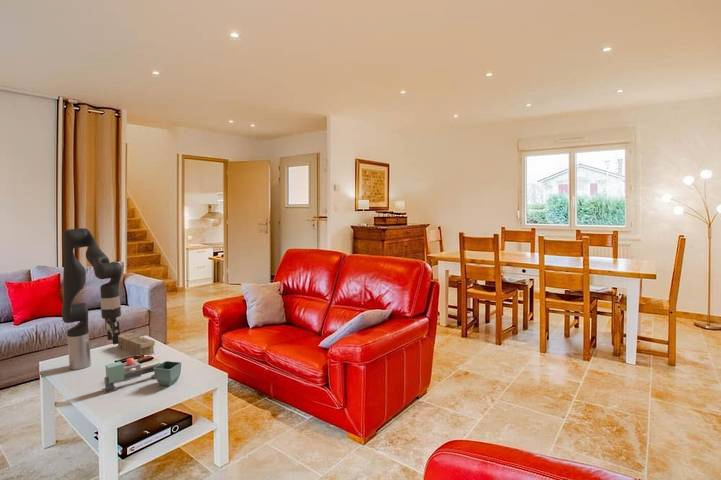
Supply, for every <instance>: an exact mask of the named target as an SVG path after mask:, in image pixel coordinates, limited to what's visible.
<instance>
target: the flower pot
mask: <svg viewBox="0 0 721 480" xmlns="http://www.w3.org/2000/svg"><path fill="white" fill-rule="evenodd" d="M160 363H161V362H160ZM181 370H182V362H181V361H169V360H165V361H163V362H162V363H161V364H160V365H158V366H156V367H155V368H154V373H155V377H156V379H155V380H156V381H157V383H158V384H160V386H166V387H167V386H168V387H169V386H172V385H174V384H175V383H176V382H177V381H178V380H179V378H180V375H181Z"/></svg>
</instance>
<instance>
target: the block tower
mask: <svg viewBox="0 0 721 480" xmlns="http://www.w3.org/2000/svg"><path fill="white" fill-rule="evenodd" d="M118 340H119V343H118V344H117V348H118V349H119V350H122V351H124V352H126V353H128V354H131V355H133V356H136V355H147V356H150V355H152V354H155V350H154V348H155V347H154V346H155V343H156V342H155V340H153V339H150V338H147V337H144V336H143V337H142V336H140V335H138V334H135V333H132V332H126V333H123V334H121V333H120V335H118Z"/></svg>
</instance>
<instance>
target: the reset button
mask: <svg viewBox="0 0 721 480" xmlns="http://www.w3.org/2000/svg"><path fill="white" fill-rule="evenodd" d="M125 361H126V362H125V363H127V366H131V365H134V361H135V357H129V358H126V359H125Z"/></svg>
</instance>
